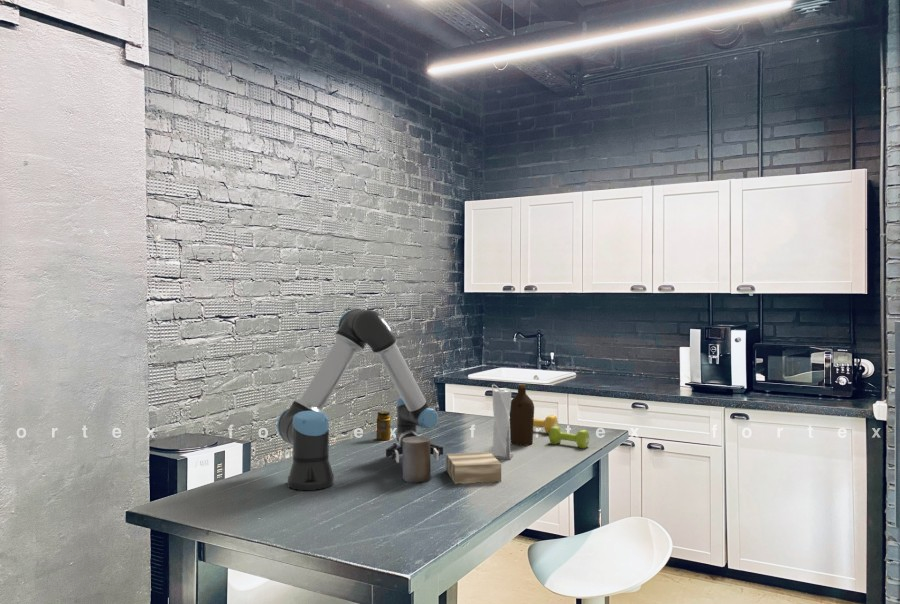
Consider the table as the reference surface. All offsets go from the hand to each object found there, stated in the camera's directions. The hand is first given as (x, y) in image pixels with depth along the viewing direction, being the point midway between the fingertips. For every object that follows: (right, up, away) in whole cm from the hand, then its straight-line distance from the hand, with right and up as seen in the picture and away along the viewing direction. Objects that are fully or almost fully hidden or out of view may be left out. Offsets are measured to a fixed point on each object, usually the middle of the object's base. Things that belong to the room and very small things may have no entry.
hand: (417, 457), depth 215 cm
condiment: (-19, -7, +60) cm, 63 cm away
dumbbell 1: (+51, -7, +78) cm, 93 cm away
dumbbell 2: (+61, -8, +51) cm, 80 cm away
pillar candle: (-1, -8, +3) cm, 9 cm away
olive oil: (+41, -7, +55) cm, 69 cm away
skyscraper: (+31, -8, +33) cm, 46 cm away
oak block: (+19, -8, +6) cm, 21 cm away
